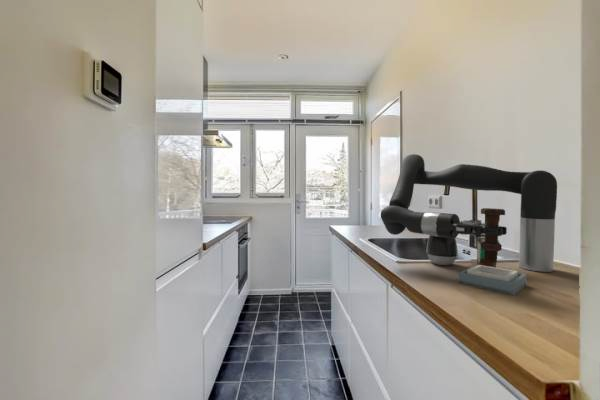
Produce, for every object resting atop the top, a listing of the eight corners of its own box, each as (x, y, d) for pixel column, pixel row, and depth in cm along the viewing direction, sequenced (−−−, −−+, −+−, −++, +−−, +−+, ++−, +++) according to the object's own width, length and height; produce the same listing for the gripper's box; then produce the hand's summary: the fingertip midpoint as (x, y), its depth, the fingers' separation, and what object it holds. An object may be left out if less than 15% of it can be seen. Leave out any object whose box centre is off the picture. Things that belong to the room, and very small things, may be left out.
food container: (502, 275, 94) (503, 243, 94) (480, 272, 97) (480, 241, 96) (496, 266, 105) (497, 238, 105) (476, 264, 108) (477, 236, 108)
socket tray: (474, 275, 94) (475, 263, 94) (526, 285, 84) (526, 271, 84) (458, 283, 85) (458, 269, 85) (513, 295, 75) (513, 280, 75)
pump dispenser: (422, 259, 115) (423, 219, 114) (451, 261, 113) (453, 220, 112) (429, 266, 105) (430, 222, 104) (461, 267, 103) (462, 223, 102)
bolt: (505, 265, 81) (507, 209, 81) (484, 263, 82) (486, 209, 82) (495, 260, 87) (498, 208, 86) (476, 259, 88) (478, 207, 87)
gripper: (448, 234, 100) (510, 242, 87) (429, 238, 90) (495, 248, 77) (449, 212, 99) (512, 216, 87) (430, 213, 90) (496, 218, 77)
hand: (503, 231), depth 82 cm, fingers closed on bolt, 3 cm apart
